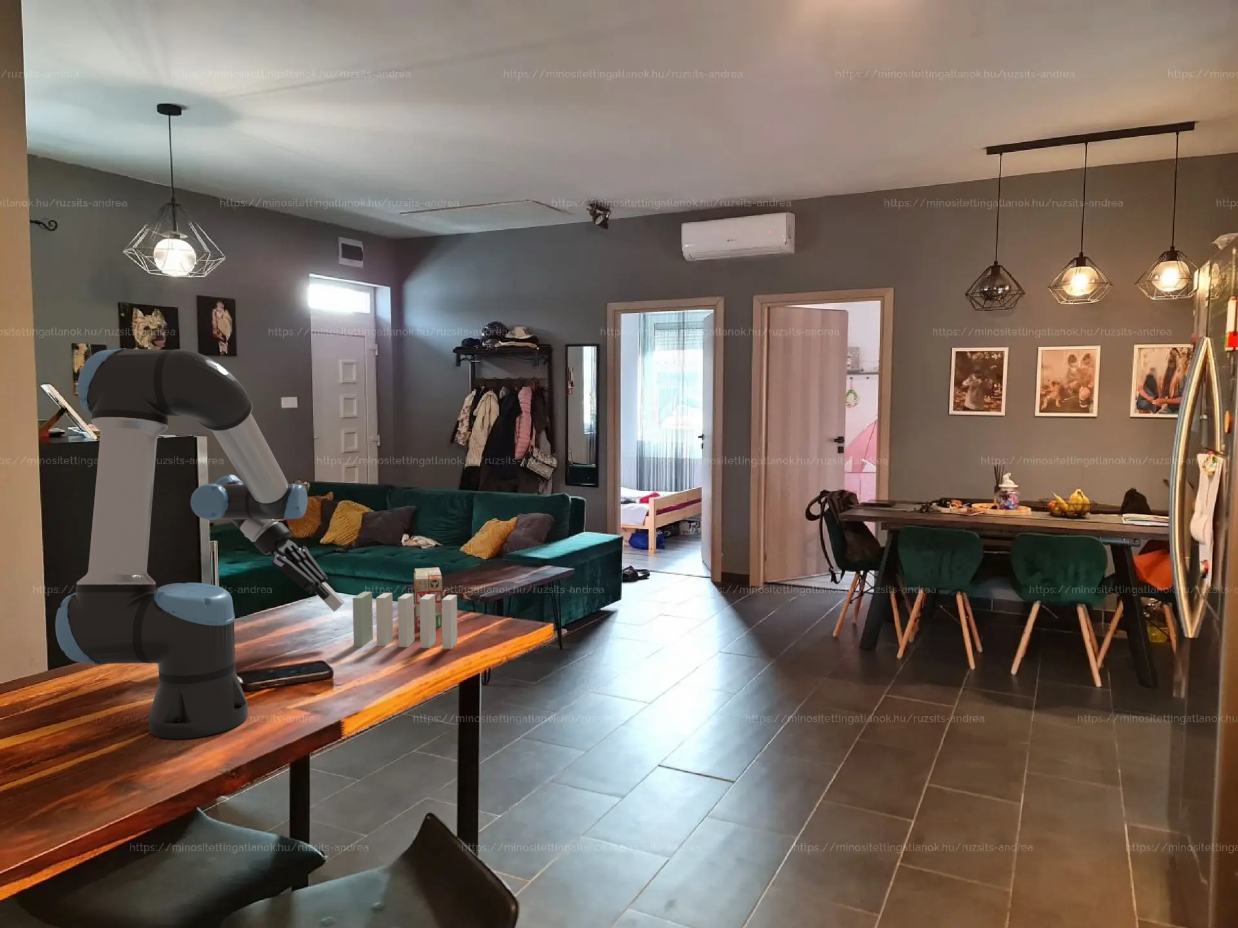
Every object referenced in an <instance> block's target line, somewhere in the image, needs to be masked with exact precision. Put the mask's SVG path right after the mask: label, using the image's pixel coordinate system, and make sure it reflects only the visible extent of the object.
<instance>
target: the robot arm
mask: <svg viewBox="0 0 1238 928" xmlns="http://www.w3.org/2000/svg"><path fill="white" fill-rule="evenodd" d="M77 395H78V396H77V397H79V398H80V400H79V404H80V406H81V408H82V409H83V410H84V411H85V412H86V414H89V415H91V418H90V419H91V420H90V422H91V424H92V425H93V426H94V427H95V428H96V429H97V430H98V431H99V433H100V436H99V446H98V458H97V469H96V470H97V471H96V480H95V491H94V493H95V494H94V502H93V503H94V504H93V515H92V526H91V536H90V538H91V539H90V546H89V547H90V549H89V559H88V569H87V570H88V571H87V573H86V575H84V576H83V577H81V578H80V579H78V581H76V587H75V592H73V593H72V594H70V595H67V596H66V597H65V598H63V600H62V601H61V603H60V607H58V609H57V610H56V616H55V635H56V639H57V643H58V645H59V647H60V649H61V651H62V652H64V654H65V655H66V656H67V658H69V659H70V660H71V661H74V662H77V663H78V664H79V663H81V664H94V665H97V666H102V665H106V664H107V665H109V664H110V665H111V664H112V665H114V664H119V665H120V664H157V667H158V686H157V688H156V692H155V693H154V694H155V695H154V698H153V701H152V705H151V708H150V711H149V714H148V731H149V733H150V734H151V735H153V736H155V737H157V738H162V739H168V740H184V739H186V740H187V739H197V738H201V737H203V738H204V737H207V736H211V735H216V734H219V733H222V732H225V731H228V730H231V729H233V728H236V727H237V726H239V725H240V724H242V723H243V722H245V720H247V718H248V714H249V711H248V710H249V708H248V700H247V698H246V696H245V693H244V690H243V688H242V685H241V683H240V680H239V679H238V675H237V674H236V673H237V672H236V651H235V650H236V649H235V644H236V643H235V641H236V640H235V620H236V619H235V617H236V616H235V615H236V614H235V612H234V611H235V610H234V604H233V603H234V602H233V598H232V595H231V593H230V592H229V591H228V590H226V589H225V588H223V587H221V586H218V585H214V584H210V583H202V582H185V583H182V582H175V583H174V582H173V583H170V584H169V583H168V584H165V585H162V586H159V587H158V588H157V589H156V587H157V586H156V583H157V582H156V581H155V580H154V579H153V578H152V577H151V576H150V575H149V574H148V571H147V570H148V560H149V559H148V558H149V547H150V534H151V521H152V520H151V519H152V508H153V495H154V483H155V470H156V469H155V468H156V458H157V457H156V456H157V445H158V437H159V436H160V435H162V434H163V433H164V432H165V431H167V430H168V428H169V419H170V418H169V417H179V416H182V417H183V416H184V417H190V418H194V419H196V420H198V422H199V423H200V426H202V427H203V428H204V429H206V430H208V431H211V433H213V435H214V437H215V438H216V440H217V441H218V443H219V445H220V447H221V448H222V449H223V450H222V451H223V452H224V454H226V456H227V458H228V459H229V462H230V463H231V464H232V466H233V468H234V469H235V470H236V472H237V474H238V476H239V477H240V478H238V476H236V475H234V474H227V475H225V476H222V477H221V478H219V479H217V480H216V481H215V482H214V483H212V482H211V483H207V484H202V485H200V486H199V487H197V488H196V489H195V490H194V491H193V493H192V494H191V498H190V507H191V510H192V512H193V513H194V514H195V515H196V516H197V517H199V519H203V520H208V521H211V520H212V521H213V520H214V521H217V520H229V521H231V522H232V523H233V525H234V526H235V527H236V528H237V529H239V530H240V531H241V532H242V534H243V535H244V537H245V538H247V539H249V540H250V541H251V543H254V546H255V548H257V549H258V551H260V552H261V553H262V554H263V555H264V556H268V555H271V557H272V558H274V560H273V561H271V566H273V567H274V568H276V569H278V570H280V571H281V572H282V573H283V574H285V575H286V576H287V577H289V579H291V580H292V581H293V582H294V583H295V584H297V585H299V587H301V589H303V590H304V591H306V592H307V593H308V594H312V593H313V592H314V593H315V594H316V595H317V596H318V597H319V598H320V599H321V600H322V601H323V602H324V603H325V604H326V605H327V607H329V608H330V609H331V611H332V612H336V611H338V609H340V608H341V606H342V605H344V604H345V601H344V600H343V599H342V598H341V596H339V594H338V593H337V592H336V591H335V590H334V589H333V588H332V587H331V586H330V585H329V584H328V583H327V582H326V581H327V580H328V579H329V577H328V575H327V574H326V573H325V572H324V570H323V569H322V568H321V567H320V565H319V563H317V561H316V560H315V558H314V557H313V556H312V554H311V553H310V552H309V549H308V548H307V546H305V545H303V546H302V547H298V545H297V543H295V542H293V541H292V540H291V539H290V538H291V536H292V532H291V530H290V529H289V528H288V527H287V526H286V525H285V524H284V523H283V522H279V520H283V521H286V520H297V519H301V518H303V517H304V515H305V514H306V512H307V508H308V500H309V499H308V492H307V489H306V487H305V486H304V485H301V484H296V483H289V482H288V481H287V479H286V477H285V474H284V472H283V471H282V469H281V467H280V465H279V463H278V461H277V460H276V458H275V456H274V454H273V452H272V450H271V448H270V446H269V445H268V443H267V441H266V438H265V437H264V435H263V433H262V432H261V429H260V427H259V425H258V424H257V422H256V419H255V418H254V416H253V414H252V411H253V402H252V399H251V398H250V396H249V394H248V392H247V390H246V389H245V387H244V386H243V385H242V383H241V382H240V381H239V380H238V379H237V377H235V376H234V375H233V374H232V372H230V371H229V370H227V369H226V368H225V367H224V366H223V365H221V364H220V363H218V362H216V361H215V360H213V359H212V358H210V357H208V356H206V355H204V354H202V353H199V352H196V351H193V350H189V349H178V348H177V349H150V348H149V349H147V348H146V349H143V348H125V347H124V348H117V349H104V350H99V351H97V352H96V353H95V352H94V353H93V355H91V357H89V358H88V359H87V360H86V362H85V363H84V364H83V365H82V368H81V370H80V373H79V376H78V380H77Z"/></svg>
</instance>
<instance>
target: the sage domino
mask: <svg viewBox="0 0 1238 928" xmlns="http://www.w3.org/2000/svg"><path fill="white" fill-rule="evenodd" d="M352 618H353V619H352V621H353V623H352V626H353V629H352V630H353V647H358V648H361V647H364V646H366V645H367V644H369V643H370V642H371V641H372V640H373V639H374V627H373V626H374V625H373V620H374V619H373V618H374V617H373V592H372V591H362V592H360V593H359V594H357V595H355V596H354V597H352ZM369 641H370V642H369Z"/></svg>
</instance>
